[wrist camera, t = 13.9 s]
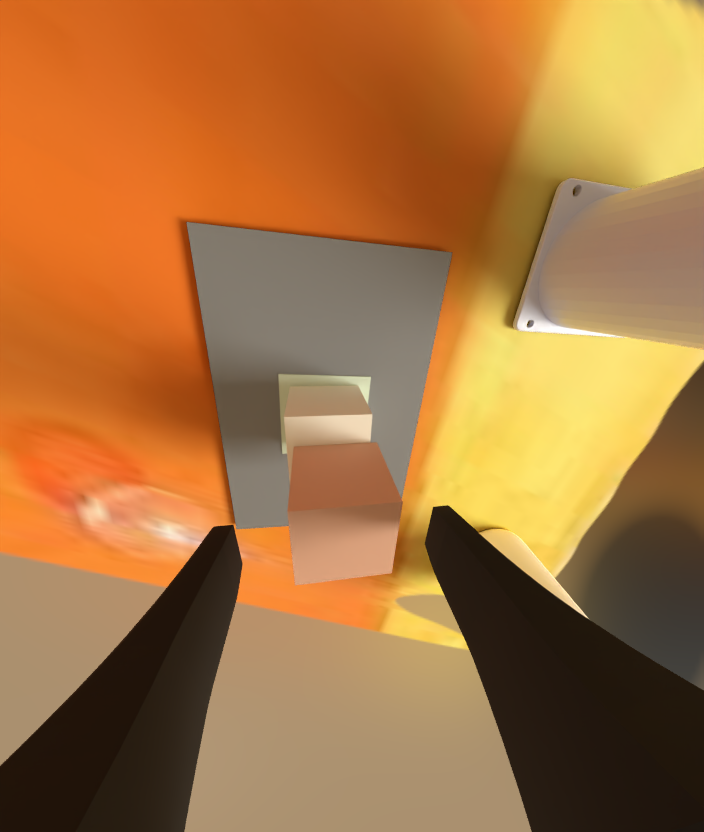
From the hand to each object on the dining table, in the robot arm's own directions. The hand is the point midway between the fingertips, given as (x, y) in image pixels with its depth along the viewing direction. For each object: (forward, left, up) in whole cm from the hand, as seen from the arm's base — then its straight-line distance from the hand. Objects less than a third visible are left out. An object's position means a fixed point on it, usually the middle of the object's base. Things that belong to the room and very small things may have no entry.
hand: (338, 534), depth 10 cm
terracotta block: (0, +2, -5) cm, 6 cm away
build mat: (0, 0, -10) cm, 10 cm away
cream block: (0, 0, -10) cm, 10 cm away
